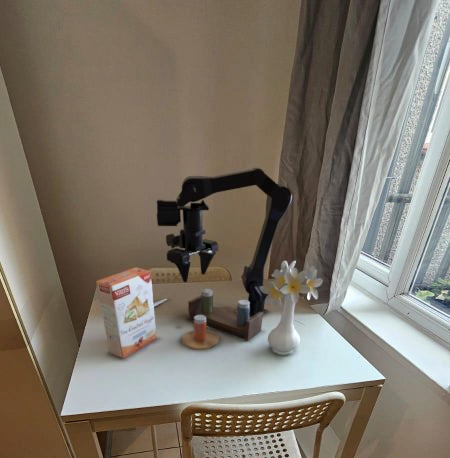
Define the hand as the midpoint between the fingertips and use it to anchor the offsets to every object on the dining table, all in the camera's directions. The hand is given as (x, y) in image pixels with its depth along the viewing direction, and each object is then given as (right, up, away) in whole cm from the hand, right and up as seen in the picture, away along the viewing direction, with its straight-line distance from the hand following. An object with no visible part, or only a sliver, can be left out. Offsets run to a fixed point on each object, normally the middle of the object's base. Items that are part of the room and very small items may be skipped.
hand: (194, 278), depth 109 cm
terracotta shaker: (+3, -21, -8) cm, 22 cm away
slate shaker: (+16, -15, -4) cm, 22 cm away
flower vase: (+27, -25, -11) cm, 38 cm away
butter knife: (-19, -10, +7) cm, 22 cm away
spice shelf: (+10, -15, +1) cm, 18 cm away
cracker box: (-16, -24, -11) cm, 31 cm away
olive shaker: (+4, -10, +2) cm, 11 cm away
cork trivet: (+3, -21, -7) cm, 23 cm away
